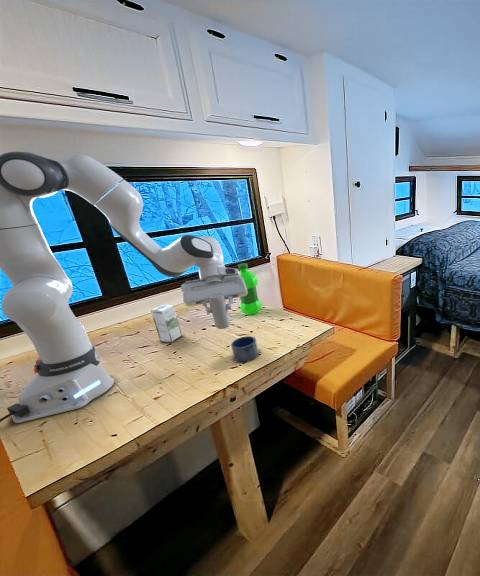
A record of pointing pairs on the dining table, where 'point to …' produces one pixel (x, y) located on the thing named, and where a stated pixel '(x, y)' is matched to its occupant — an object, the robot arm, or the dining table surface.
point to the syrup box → (166, 323)
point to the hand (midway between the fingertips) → (219, 311)
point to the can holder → (244, 349)
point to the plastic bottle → (249, 291)
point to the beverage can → (219, 311)
